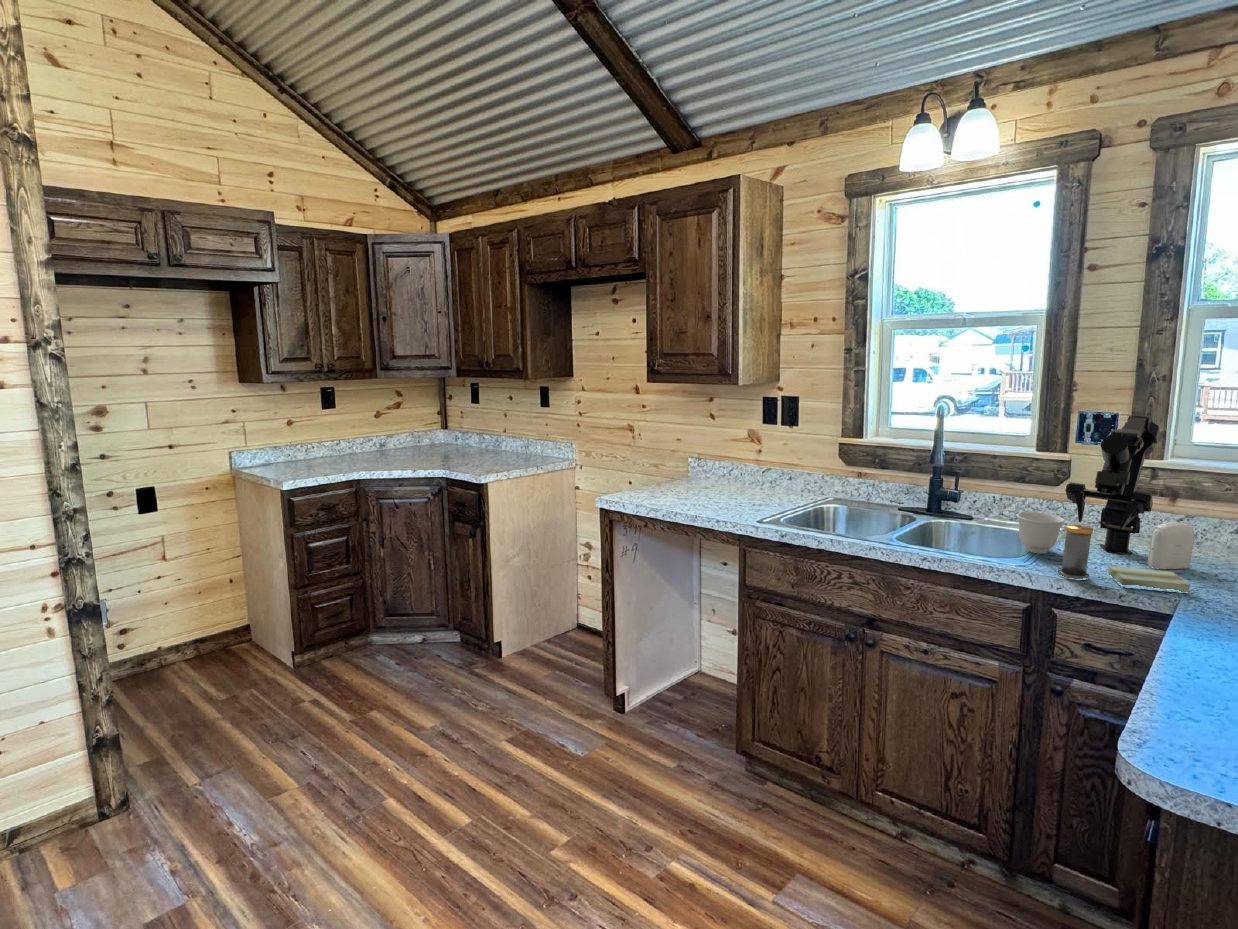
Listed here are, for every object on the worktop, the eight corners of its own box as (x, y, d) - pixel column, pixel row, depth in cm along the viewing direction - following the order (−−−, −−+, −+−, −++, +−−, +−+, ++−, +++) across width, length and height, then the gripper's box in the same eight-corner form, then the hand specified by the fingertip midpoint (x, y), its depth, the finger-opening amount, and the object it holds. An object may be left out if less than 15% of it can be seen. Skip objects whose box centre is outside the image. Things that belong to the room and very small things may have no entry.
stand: (1107, 575, 188) (1108, 565, 188) (1170, 580, 184) (1171, 571, 184) (1121, 588, 179) (1123, 578, 178) (1188, 594, 175) (1189, 584, 174)
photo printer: (1156, 570, 192) (1164, 525, 190) (1143, 565, 196) (1150, 521, 194) (1192, 569, 193) (1199, 525, 191) (1178, 564, 197) (1185, 520, 195)
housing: (1054, 570, 191) (1060, 522, 188) (1083, 573, 189) (1090, 525, 187) (1062, 579, 184) (1068, 529, 182) (1092, 582, 183) (1099, 532, 180)
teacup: (1060, 546, 213) (1064, 513, 211) (1060, 559, 200) (1065, 524, 198) (1013, 539, 219) (1017, 507, 217) (1011, 552, 206) (1015, 518, 204)
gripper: (1070, 453, 193) (1055, 504, 188) (1156, 463, 180) (1141, 518, 176) (1075, 473, 200) (1060, 523, 196) (1158, 484, 187) (1144, 537, 183)
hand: (1100, 525), depth 187 cm, fingers open, 9 cm apart
